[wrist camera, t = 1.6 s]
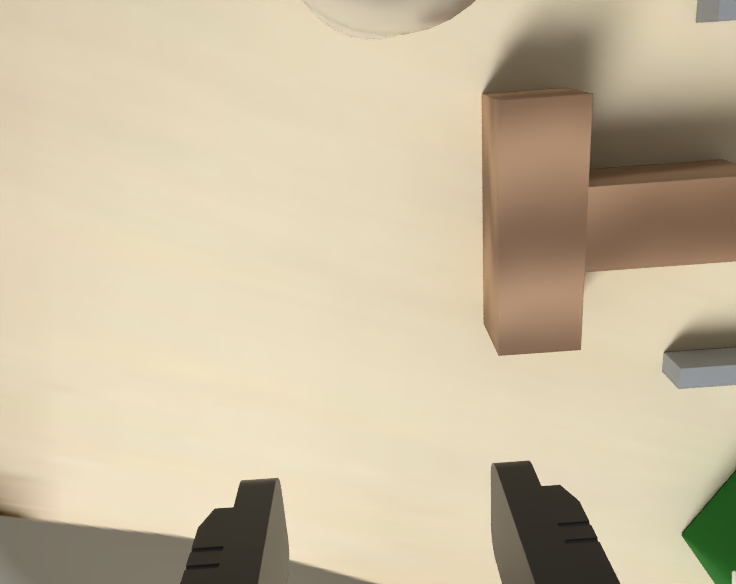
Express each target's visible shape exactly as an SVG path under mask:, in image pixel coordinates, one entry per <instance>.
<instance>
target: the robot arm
mask: <svg viewBox="0 0 736 584" xmlns="http://www.w3.org/2000/svg"><path fill="white" fill-rule="evenodd" d="M491 533H492V543H493V549H494V555H495V559H496V563H497V567H498V570H499V574H500V578H501V581H502V584H620V582H619V580H618V578H617V576H616V574H615V572H614V570H613V568H612V566H611V564H610V562H609V560H608V558H607V556H606V554H605V552H604V550H603V548H602V546H601V544H600V542H598V540H597V536H596V534H595V532H594V530H593V528H592V526H591V525H590V524H589V520H588V518H587V516H586V514H585V512H584V510H583V508H582V506H581V504H580V502H579V501H578V500H577V499H576V498H575V497H574V496H573V495H571V494H570V493H569V492H568V491H567V490H565V489H564V488H563V487H562V486H561V485H552V486H541V484H540V482H539V480H538V477H537V475H536V473H535V470H534V468H533V466H532V464H531V462H530V461H518V462H504V463H493V464H492V466H491ZM288 574H289V544H288V535H287V528H286V520H285V513H284V506H283V498H282V491H281V485H280V481H279V479H278V478H271V479H256V480H242V481H241V482H240V485H239V488H238V492H237V496H236V500H235V504H234V507H232V508H218V509H214V510H213V511H212V512H211V514H210V515H209V516H208V517H207V518H206V519H205V520H204V522H203V523H202V524H201V525H200V526H199V527H198V530H197V533H196V536H195V539H194V542H193V546H192V552H191V553H190V555H189V558H188V561H187V565H186V570H185V571H184V574H183V577H182V581H181V583H180V584H287V583H288Z"/></svg>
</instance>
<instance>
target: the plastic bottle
mask: <svg viewBox="0 0 736 584" xmlns="http://www.w3.org/2000/svg"><path fill="white" fill-rule="evenodd" d="M302 1H303V2H304V3H305V4H306V5H307V6H308V8H309V9H310V10H311V12H313V13H314V14H315V15H316V16H317V17H318V18H319V19H320V20H321V21H322V22H323V23H325V24H326V25H328V26H329V27H331V28H332V29H334V30H335V31H338V32H340V33H342V34H345V35H347V36H350V37H355V38H360V39H384V38H389V37H393V36H397V35H404V34H409V33H413V32H418V31H422V30H427V29H429V28H432V27H434V26H436V25H438V24H441V23H443V22H445V21H447V20H450V19H451V18H453V17H454V16H456V15H457V14H459V13H460V12H461V11H463V10H464V9H466V8H467V7H468V6H470V5H471V4H472V3H473V2H474V1H475V0H302Z"/></svg>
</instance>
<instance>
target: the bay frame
mask: <svg viewBox="0 0 736 584" xmlns="http://www.w3.org/2000/svg"><path fill="white" fill-rule="evenodd" d="M729 20H736V0H698V5H697V15H696V23H699V22H715V21H729ZM662 372H663V373H664V374H665V375H666V376H667V377H668V378H669V379H670V380H671V381H672V383H673V384H674V385H675V386H676V387H677V388H678V389H685V388H699V387H713V386H727V385H736V347H732V348H718V349H704V350H690V351H676V352H664V359H663V369H662Z"/></svg>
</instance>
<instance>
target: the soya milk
mask: <svg viewBox="0 0 736 584" xmlns="http://www.w3.org/2000/svg"><path fill="white" fill-rule="evenodd" d="M682 537H683V538H684V540H685V541H686V542H687V544H688V545H689V547H690V548H691V550H692V551H693V553H694V554H695V555H696V557H697V558H698V560H699V561H700V563H701V564H702V566H703V567H704V568H705V570H706V571H707V573H708V574H709V576H710V577H711V579H712V580H713V581H714V583H715V584H736V471H735V472H734V474H733V475H732V476H731V477H730V478H729V479H728V481H727V482H726V483H725V484H724V485H723V487H722V488H721V489H720V490H719V491H718V492H717V494H716V495H715V496H714V497H713V498H712V499H711V501H710V502H709V503H708V504H707V505H706V506H705V508H704V509H703V510H702V511H701V512H700V513H699V515H698V516H697V517H696V518H695V519H694V520H693V522H692V523H691V524H690V525H689V526H688V528H687V529H686V530H685V531H684V532H683V533H682Z"/></svg>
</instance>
